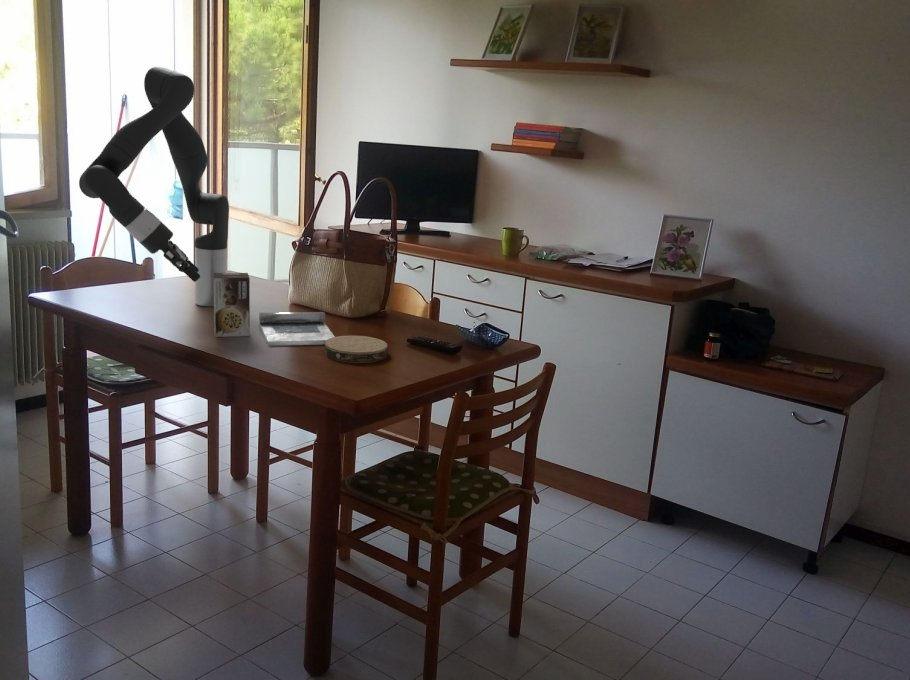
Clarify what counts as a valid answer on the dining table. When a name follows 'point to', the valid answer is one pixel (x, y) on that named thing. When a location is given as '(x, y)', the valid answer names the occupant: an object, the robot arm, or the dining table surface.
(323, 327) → the hinge plate
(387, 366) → the dining table surface
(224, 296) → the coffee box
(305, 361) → the dining table surface
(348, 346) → the beige tambourine
